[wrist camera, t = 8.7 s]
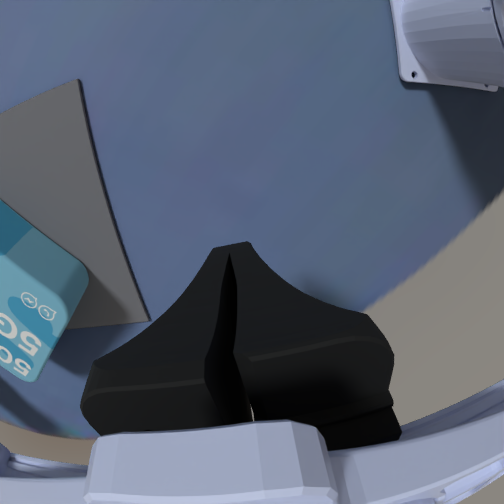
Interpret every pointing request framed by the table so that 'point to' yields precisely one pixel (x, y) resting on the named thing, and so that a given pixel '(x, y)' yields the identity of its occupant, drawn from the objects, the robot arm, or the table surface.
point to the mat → (67, 199)
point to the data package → (33, 294)
